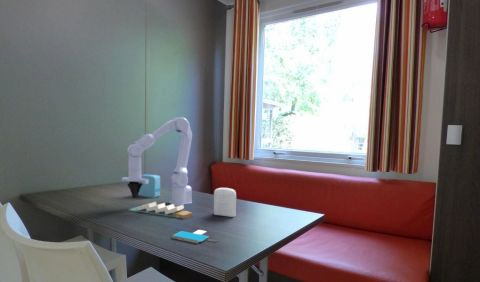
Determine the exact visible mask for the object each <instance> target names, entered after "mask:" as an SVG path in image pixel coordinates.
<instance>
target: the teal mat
mask: <svg viewBox="0 0 480 282" xmlns="http://www.w3.org/2000/svg"><path fill="white" fill-rule="evenodd" d="M139 206H140V205H139ZM139 206H135V207H132V208H130V209H128V211H133V212H140V213H145V214H146V213H147V214H151V215H159V216H165V217H171V218H175V217H174V216H173V213H169V214H166V215H165V212H164V211H163V212H159V213H156V212H155V210H152V211H148V212H147V211H146V209H142V210H138V208H137V207H139ZM176 218H178V217H176Z"/></svg>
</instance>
